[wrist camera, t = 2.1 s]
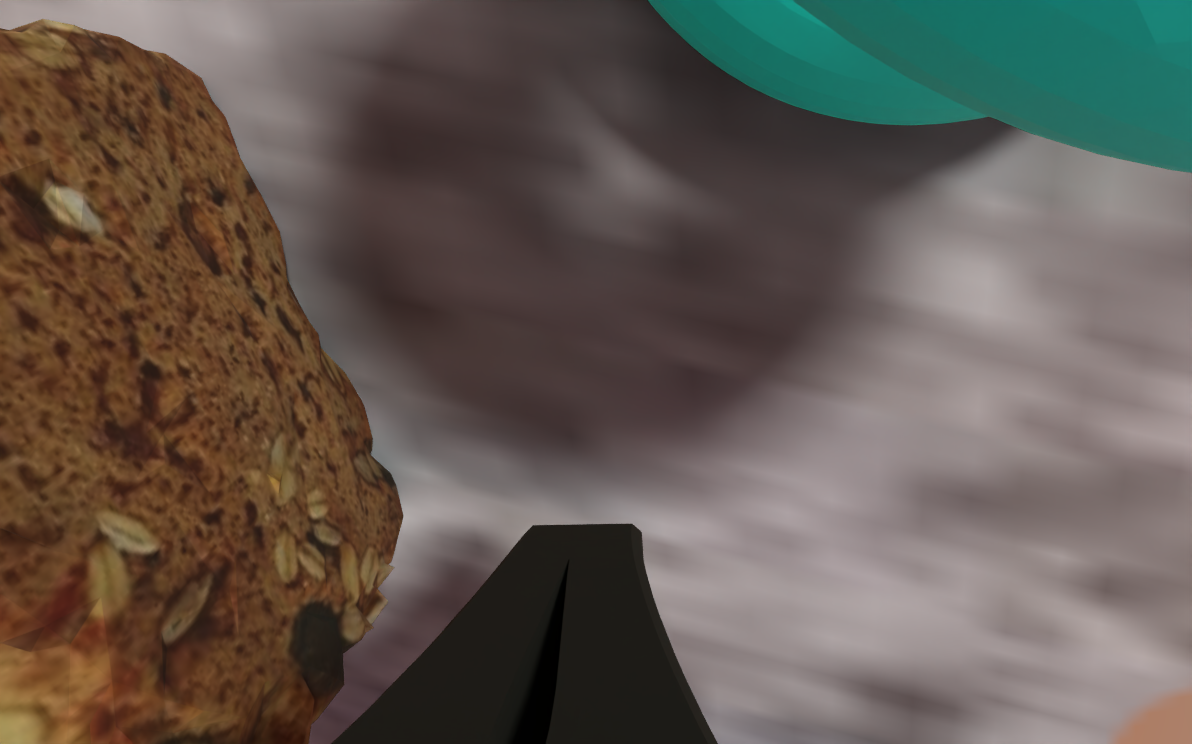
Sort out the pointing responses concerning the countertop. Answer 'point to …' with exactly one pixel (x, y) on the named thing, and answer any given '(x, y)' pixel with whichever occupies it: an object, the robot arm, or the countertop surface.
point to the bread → (164, 423)
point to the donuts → (968, 64)
